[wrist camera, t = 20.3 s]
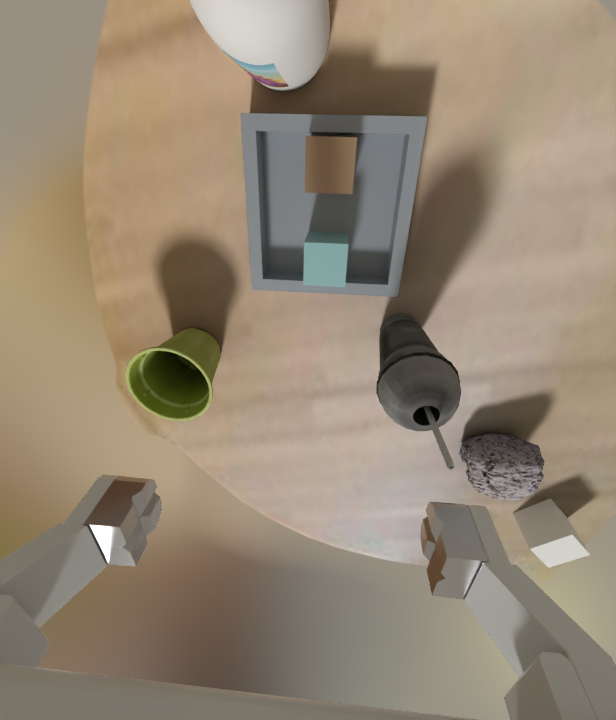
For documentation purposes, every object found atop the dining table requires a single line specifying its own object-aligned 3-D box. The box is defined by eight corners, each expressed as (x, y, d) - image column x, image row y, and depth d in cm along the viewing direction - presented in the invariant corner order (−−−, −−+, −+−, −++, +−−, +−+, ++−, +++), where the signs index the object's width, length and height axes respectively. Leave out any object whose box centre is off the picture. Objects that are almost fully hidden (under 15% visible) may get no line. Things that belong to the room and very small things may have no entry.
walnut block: (355, 139, 31) (357, 137, 27) (351, 188, 33) (352, 194, 29) (310, 138, 31) (305, 135, 27) (309, 187, 33) (304, 192, 29)
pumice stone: (441, 447, 53) (499, 484, 52) (440, 482, 46) (507, 525, 45) (487, 400, 48) (553, 440, 47) (493, 433, 41) (570, 480, 40)
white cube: (550, 497, 53) (572, 534, 48) (567, 517, 55) (590, 554, 50) (512, 512, 56) (529, 549, 51) (530, 531, 58) (548, 568, 53)
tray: (419, 119, 31) (427, 116, 28) (394, 286, 38) (398, 297, 36) (249, 116, 31) (240, 112, 29) (258, 280, 39) (251, 289, 37)
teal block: (347, 232, 35) (348, 244, 31) (344, 271, 37) (345, 287, 33) (308, 231, 36) (304, 242, 31) (307, 270, 38) (303, 285, 33)
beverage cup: (402, 289, 38) (450, 399, 21) (444, 330, 41) (519, 459, 23) (355, 332, 42) (364, 458, 25) (396, 368, 44) (432, 507, 27)
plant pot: (146, 333, 44) (106, 369, 37) (204, 302, 41) (174, 334, 34) (191, 387, 48) (163, 430, 41) (247, 363, 45) (228, 404, 38)
